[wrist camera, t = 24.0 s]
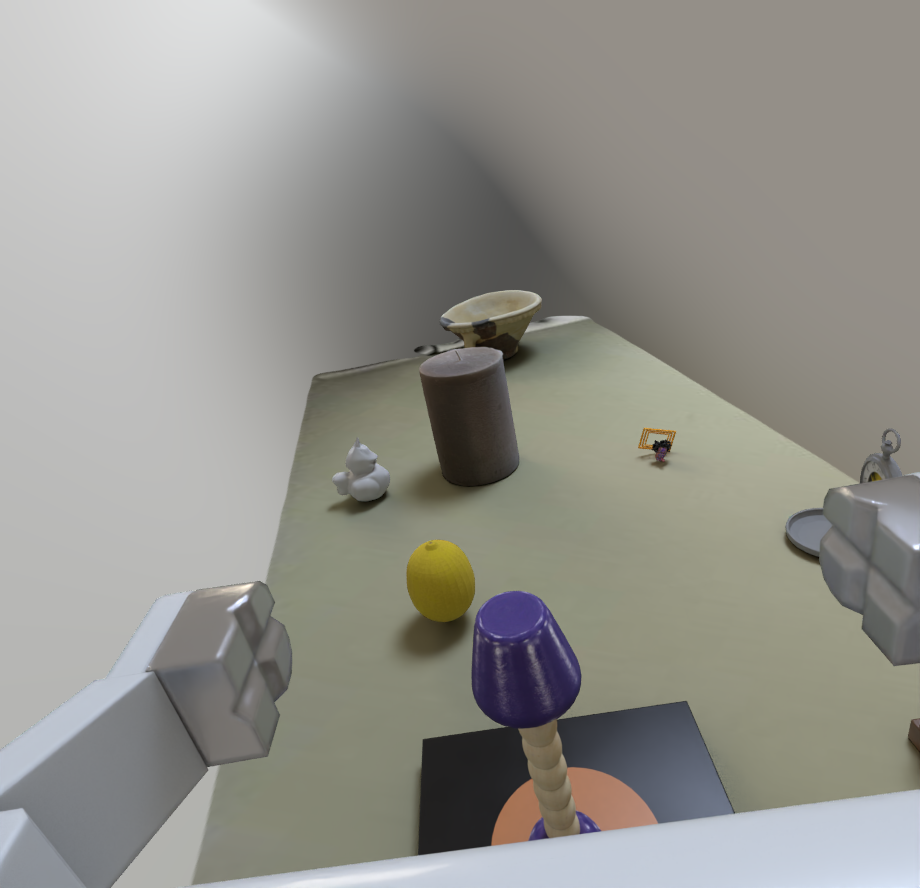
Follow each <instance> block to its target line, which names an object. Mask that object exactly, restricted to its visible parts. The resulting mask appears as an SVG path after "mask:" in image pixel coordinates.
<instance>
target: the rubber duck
mask: <svg viewBox="0 0 920 888" xmlns="http://www.w3.org/2000/svg"><path fill="white" fill-rule="evenodd" d="M377 457H378V456H377V455H376V454H375V453H373V452H371V451H370V450H369V449H368V447H367V446H365V445H363V444H360V442H359V439H358V437H357V439H356V442H355V443H354V445H353V447H352V448H351V450H350V451H349V453H348V455H347V458H346V467H347V468H348V469H349V470H350V471H349V472H340V473H337V474H335V475H334V476H333V478H332V481H333V483H334V484H335V485H336V486H337V490H338V493H339V494H340V495H347V494H350V495H351V496H352V497H354V498H355V499H356V500H358V501H370V500H374V499H377V498H379V497H381V496H382V495H383V494H384V493H385V491H386V490H387V488H388V486H389V483H390V475H389V472H388V471H387V470H386V469H385V468H383V467H382V466H380V465H378V464H377V463H376V459H377Z"/></svg>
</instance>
